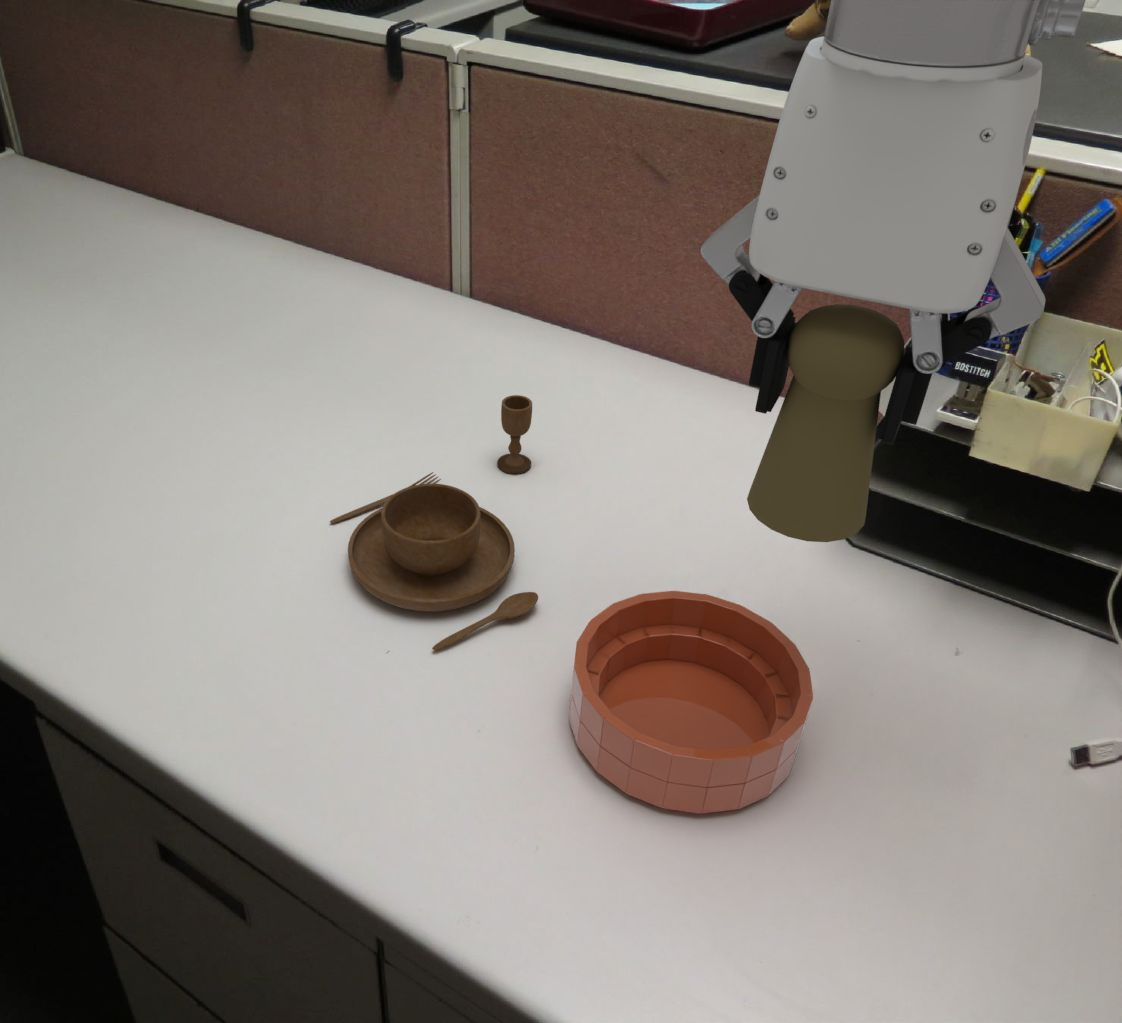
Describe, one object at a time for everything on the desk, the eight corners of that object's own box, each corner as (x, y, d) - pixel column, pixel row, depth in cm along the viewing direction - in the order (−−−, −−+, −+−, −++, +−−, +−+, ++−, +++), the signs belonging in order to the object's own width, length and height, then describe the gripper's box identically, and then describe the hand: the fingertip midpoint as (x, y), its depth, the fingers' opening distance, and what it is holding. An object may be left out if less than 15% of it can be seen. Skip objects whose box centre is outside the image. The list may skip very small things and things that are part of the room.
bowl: (817, 692, 66) (834, 634, 63) (762, 855, 56) (779, 795, 53) (615, 623, 71) (622, 567, 68) (533, 762, 61) (538, 703, 58)
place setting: (300, 529, 79) (294, 465, 76) (513, 448, 88) (516, 387, 84) (425, 668, 68) (424, 599, 64) (657, 559, 76) (667, 493, 73)
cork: (746, 532, 54) (786, 339, 47) (747, 467, 58) (785, 283, 52) (870, 550, 52) (930, 354, 46) (862, 482, 57) (915, 295, 50)
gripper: (1177, 22, 40) (1023, 423, 51) (739, -17, 47) (685, 345, 58) (1180, 67, 35) (1008, 503, 46) (686, 16, 42) (638, 408, 53)
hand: (829, 412), depth 52 cm, fingers closed on cork, 5 cm apart
